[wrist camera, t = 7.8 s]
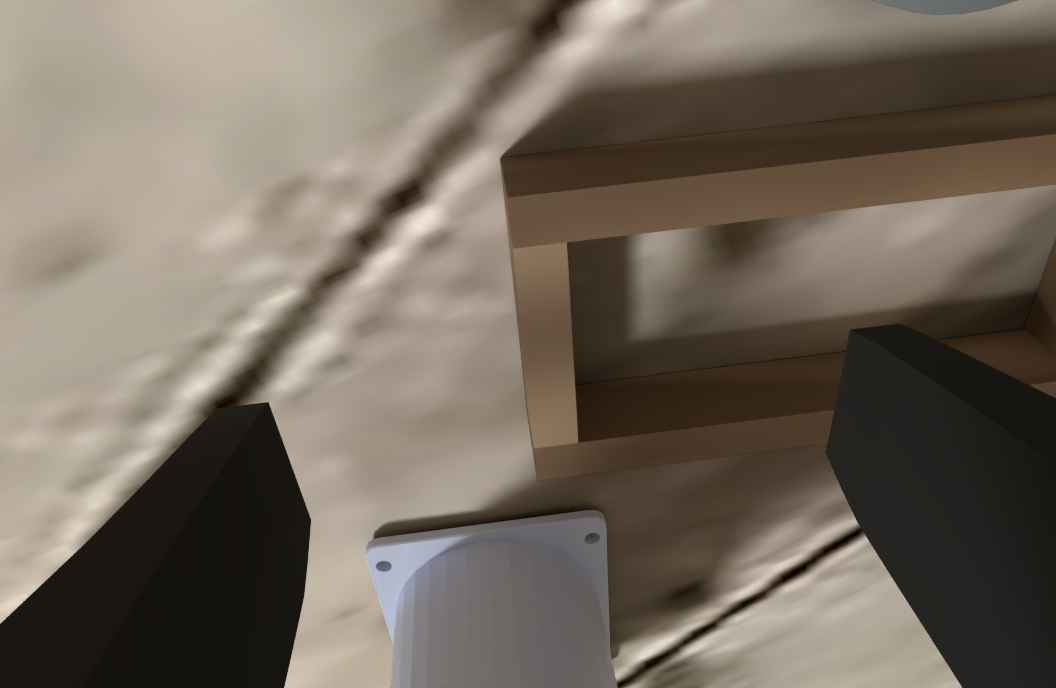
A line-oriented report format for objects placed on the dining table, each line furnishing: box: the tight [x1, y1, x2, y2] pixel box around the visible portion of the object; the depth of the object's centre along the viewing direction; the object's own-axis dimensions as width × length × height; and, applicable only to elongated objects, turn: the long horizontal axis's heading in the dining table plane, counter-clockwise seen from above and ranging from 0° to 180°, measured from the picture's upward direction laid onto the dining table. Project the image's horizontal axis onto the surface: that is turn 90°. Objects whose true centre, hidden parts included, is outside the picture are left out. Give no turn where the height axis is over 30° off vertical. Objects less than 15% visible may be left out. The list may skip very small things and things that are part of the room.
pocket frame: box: [500, 95, 1056, 481], centre depth 19 cm, size 8×16×2 cm, turn 95°
